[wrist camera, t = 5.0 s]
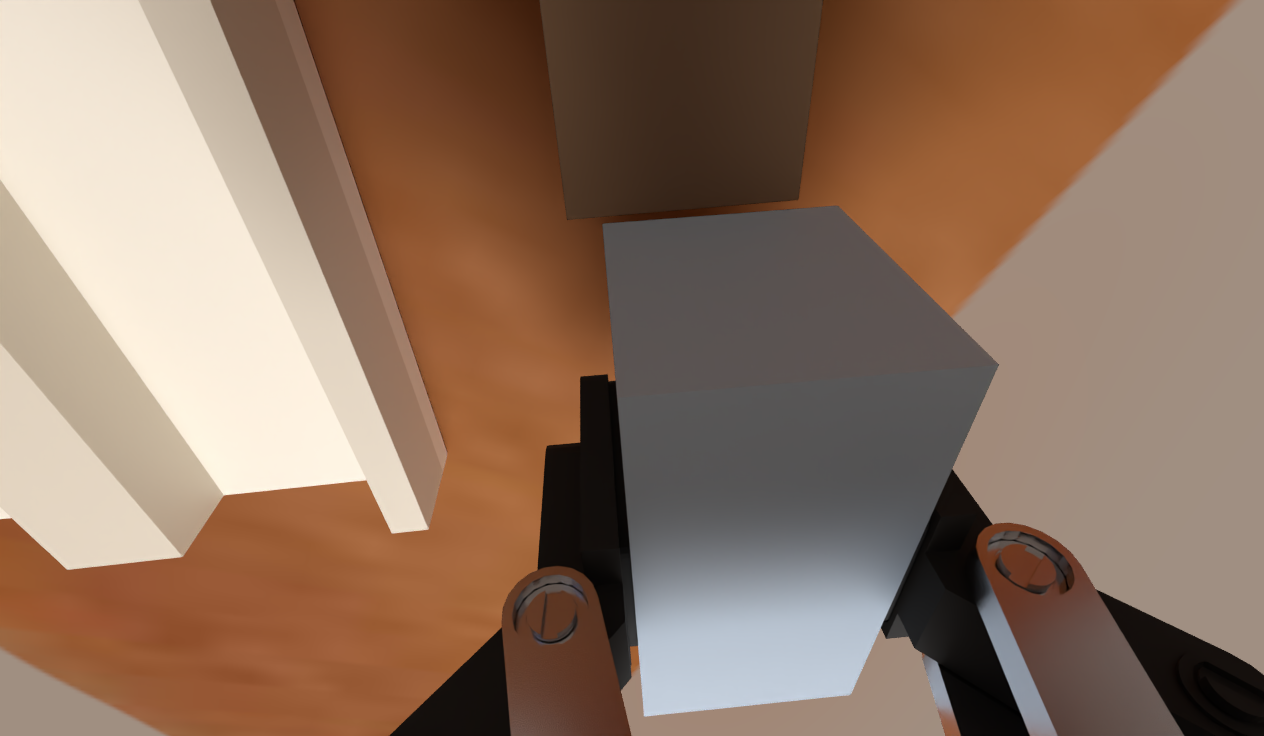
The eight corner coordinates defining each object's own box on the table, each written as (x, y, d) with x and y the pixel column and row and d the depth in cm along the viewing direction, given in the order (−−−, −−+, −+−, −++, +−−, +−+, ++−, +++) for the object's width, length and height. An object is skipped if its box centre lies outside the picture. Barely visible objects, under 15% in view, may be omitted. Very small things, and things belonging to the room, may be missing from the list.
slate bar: (837, 205, 9) (998, 364, 6) (781, 507, 14) (850, 694, 11) (602, 223, 9) (617, 397, 6) (627, 521, 14) (644, 716, 10)
